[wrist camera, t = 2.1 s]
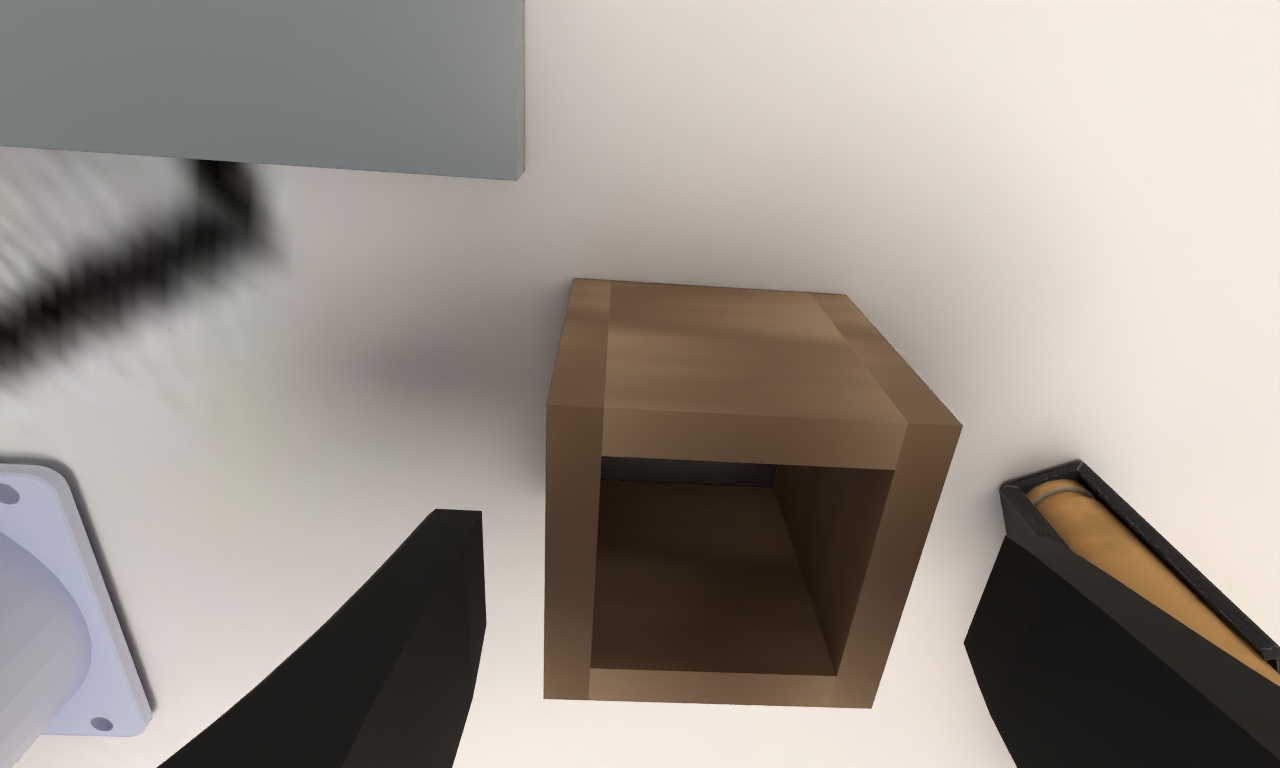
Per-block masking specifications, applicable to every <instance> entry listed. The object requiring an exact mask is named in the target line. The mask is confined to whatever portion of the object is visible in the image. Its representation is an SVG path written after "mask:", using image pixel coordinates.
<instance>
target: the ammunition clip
mask: <svg viewBox="0 0 1280 768" xmlns="http://www.w3.org/2000/svg"><path fill="white" fill-rule="evenodd" d="M999 492H1000V498H1001V504H1002V510H1003V516H1004V521H1005V527H1006V533H1007V536H1029V537H1048V538H1050V539H1052V540H1054V541H1056V542H1057V543H1059V544H1061V545H1063V546H1064V547H1066V548H1068V549H1069V550H1071V551H1073V552H1074V553H1076V554H1078V555H1079V556H1081V557H1083V558H1084V559H1086V560H1087V561H1089V562H1090V563H1092V564H1094V565H1095V566H1097V567H1098V568H1100V569H1101V570H1103V571H1104V572H1106V573H1107V574H1109V575H1111V576H1112V577H1114V578H1115V579H1117V580H1118V581H1120V582H1121V583H1123V584H1124V585H1126V586H1127V587H1129V588H1130V589H1132V590H1133V591H1135V592H1136V593H1138V594H1139V595H1141V596H1142V597H1144V598H1145V599H1147V600H1148V601H1150V602H1151V603H1153V604H1154V605H1156V606H1157V607H1159V608H1160V609H1162V610H1163V611H1165V612H1166V613H1168V614H1169V615H1171V616H1172V617H1174V618H1175V619H1177V620H1178V621H1180V622H1181V623H1183V624H1184V625H1186V626H1187V627H1189V628H1190V629H1192V630H1193V631H1195V632H1196V633H1198V634H1199V635H1201V636H1202V637H1204V638H1205V639H1207V640H1208V641H1210V642H1212V643H1213V644H1215V645H1216V646H1218V647H1219V648H1221V649H1222V650H1224V651H1225V652H1227V653H1228V654H1230V655H1231V656H1233V657H1235V658H1236V659H1238V660H1239V661H1241V662H1242V663H1244V664H1245V665H1247V666H1248V667H1250V668H1252V669H1253V670H1255V671H1256V672H1258V673H1259V674H1261V675H1263V676H1264V677H1266V678H1267V679H1269V680H1270V681H1272V682H1274V683H1275V684H1277V685H1278V686H1280V647H1279V646H1278V645H1277V644H1276V643H1275V642H1274V641H1273V640H1272V639H1271V638H1270V637H1269V636H1268V635H1267V634H1266V633H1265V632H1264V631H1262V630H1261V629H1260V628H1259V627H1258V626H1257V625H1256V624H1255V623H1254V622H1253V621H1252V620H1251V619H1250V618H1249V617H1248V616H1247V615H1245V614H1244V613H1243V612H1242V611H1241V610H1240V609H1239V608H1238V607H1237V606H1236V605H1235V604H1234V603H1233V602H1232V601H1231V600H1230V599H1228V598H1227V597H1226V596H1225V595H1224V594H1223V593H1222V592H1221V591H1220V590H1219V589H1218V588H1217V587H1216V586H1215V585H1214V584H1213V583H1212V582H1210V581H1209V580H1208V579H1207V578H1206V577H1205V576H1204V575H1203V574H1202V573H1201V572H1200V571H1199V570H1198V569H1197V568H1196V567H1195V566H1193V565H1192V564H1191V563H1190V562H1189V561H1188V560H1187V559H1186V558H1185V557H1184V556H1183V555H1182V554H1181V553H1180V552H1179V551H1178V550H1177V549H1175V548H1174V547H1173V546H1172V545H1171V544H1170V543H1169V542H1168V541H1167V540H1166V539H1165V538H1164V537H1163V536H1162V535H1161V534H1160V533H1158V532H1157V531H1156V530H1155V529H1154V528H1153V527H1152V526H1151V525H1150V524H1149V523H1148V522H1147V521H1146V520H1145V519H1144V518H1143V517H1141V516H1140V515H1139V514H1138V513H1137V512H1136V511H1135V510H1134V509H1133V508H1132V507H1131V506H1130V505H1129V504H1128V503H1127V502H1126V501H1125V500H1123V499H1122V498H1121V497H1120V496H1119V495H1118V494H1117V493H1116V492H1115V491H1114V490H1113V489H1112V488H1111V487H1110V486H1109V485H1108V484H1106V483H1105V482H1104V481H1103V480H1102V479H1101V478H1100V477H1099V476H1098V475H1097V474H1096V473H1095V472H1094V471H1093V470H1092V469H1091V468H1089V467H1088V466H1087V465H1086V464H1085V463H1084V462H1080V463H1077V464H1073V465H1070V466H1067V467H1064V468H1060V469H1057V470H1054V471H1050V472H1047V473H1044V474H1041V475H1037V476H1034V477H1031V478H1027V479H1024V480H1021V481H1018V482H1014V483H1011V484H1008V485H1005V486H1004V487H1003V488H1002V489H1001V490H999Z"/></svg>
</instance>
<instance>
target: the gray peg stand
mask: <svg viewBox="0 0 1280 768" xmlns="http://www.w3.org/2000/svg"><path fill="white" fill-rule="evenodd" d="M0 146H11V147H26V148H40V149H55V150H70V151H85V152H99V153H114V154H129V155H144V156H159V157H173V158H188V159H203V160H218V161H233V162H247V163H262V164H277V165H292V166H306V167H321V168H336V169H351V170H366V171H380V172H395V173H410V174H425V175H439V176H454V177H469V178H484V179H499V180H513V181H517V180H518V178H519V177H520V176H521V175H522V173H523V172H524V171H525V114H524V0H0Z"/></svg>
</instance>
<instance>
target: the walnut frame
mask: <svg viewBox="0 0 1280 768" xmlns="http://www.w3.org/2000/svg"><path fill="white" fill-rule="evenodd" d="M962 427H963V425H962V424H961V423H960V422H959V421H958V420H957V419H956V418H955V416H954V415H953V414H952V413H951V412H950V411H949V410H948V409H947V408H946V406H945V405H944V404H943V403H942V402H941V401H940V400H939V399H938V397H937V396H936V395H935V394H934V393H933V392H932V391H931V390H930V388H929V387H928V386H927V385H926V384H925V383H924V382H923V381H922V380H921V378H920V377H919V376H918V375H917V374H916V373H915V372H914V371H913V369H912V368H911V367H910V366H909V365H908V364H907V363H906V362H905V360H904V359H903V358H902V357H901V356H900V355H899V354H898V353H897V352H896V350H895V349H894V348H893V347H892V346H891V345H890V344H889V343H888V341H887V340H886V339H885V338H884V337H883V336H882V335H881V334H880V332H879V331H878V330H877V329H876V328H875V327H874V326H873V325H872V324H871V322H870V321H869V320H868V319H867V318H866V317H865V316H864V315H863V313H862V312H861V311H860V310H859V309H858V308H857V307H856V306H855V304H854V303H853V302H852V301H851V300H850V299H849V298H848V297H847V295H838V294H821V293H805V292H788V291H772V290H755V289H739V288H722V287H706V286H689V285H673V284H656V283H640V282H623V281H607V280H590V279H573V284H572V288H571V293H570V298H569V302H568V307H567V312H566V316H565V321H564V326H563V330H562V335H561V340H560V344H559V349H558V354H557V358H556V363H555V368H554V372H553V377H552V382H551V386H550V391H549V396H548V400H547V415H546V512H545V610H544V699H564V700H598V701H632V702H666V703H700V704H734V705H768V706H802V707H835V708H869V709H871V708H872V705H873V702H874V699H875V696H876V693H877V690H878V686H879V683H880V680H881V677H882V674H883V671H884V668H885V665H886V662H887V659H888V656H889V652H890V649H891V646H892V643H893V640H894V637H895V634H896V631H897V628H898V625H899V622H900V618H901V615H902V612H903V609H904V606H905V603H906V600H907V597H908V594H909V591H910V588H911V584H912V581H913V578H914V575H915V572H916V569H917V566H918V563H919V560H920V557H921V554H922V550H923V547H924V544H925V541H926V538H927V535H928V532H929V529H930V526H931V523H932V520H933V516H934V513H935V510H936V507H937V504H938V501H939V498H940V495H941V492H942V489H943V486H944V482H945V479H946V476H947V473H948V470H949V467H950V464H951V461H952V458H953V455H954V452H955V448H956V445H957V442H958V439H959V436H960V433H961V430H962ZM602 456H613V457H634V458H655V459H676V460H697V461H718V462H739V463H760V464H777V470H776V475H775V480H774V486H773V488H769V487H747V486H725V485H704V484H682V483H660V482H638V481H616V480H600V478H601V459H602Z"/></svg>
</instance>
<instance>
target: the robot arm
mask: <svg viewBox="0 0 1280 768" xmlns="http://www.w3.org/2000/svg"><path fill="white" fill-rule="evenodd" d="M12 487H13V488H15V489H16V490H15V489H13V488H12ZM485 629H486V603H485V579H484V555H483V531H482V511H471V510H449V509H435V510H434V511H433V512H431V513H430V514H429V515H428V516H427V517H426V518H425V519H424V520H423V521H422V522H421V523H420V525H419V526H418V527H417V528H416V529H415V530H414V531H413V532H412V533H411V535H410V536H409V537H408V538H407V539H406V540H405V541H404V542H403V543H402V544H401V545H400V547H399V548H398V549H397V550H396V551H395V552H394V553H393V554H392V555H391V556H390V557H389V558H388V559H387V561H386V562H385V563H384V564H383V565H382V566H381V567H380V568H379V569H378V570H377V571H376V572H375V573H374V574H373V575H372V576H371V577H370V578H369V580H368V581H367V582H366V583H365V584H364V585H363V586H362V587H361V588H360V589H359V590H358V591H357V592H356V593H355V594H354V595H353V596H352V597H351V598H350V599H349V600H348V601H347V602H346V603H345V604H344V605H343V606H342V607H341V608H340V609H339V610H338V611H337V612H336V613H335V614H334V615H333V616H332V617H331V618H330V619H329V620H328V621H327V622H326V623H325V624H324V625H323V626H321V627H320V628H319V629H318V630H317V631H316V632H315V633H314V634H313V635H312V636H311V637H310V638H309V639H308V640H307V641H305V642H304V643H303V644H302V645H301V646H300V647H299V648H298V649H297V650H296V651H294V652H293V653H292V654H291V655H290V656H289V657H288V658H287V659H286V660H285V661H284V662H282V663H281V664H280V665H279V666H278V667H277V668H276V669H275V670H274V671H273V672H272V673H270V674H269V675H268V676H267V677H266V678H265V679H264V680H263V681H262V682H261V683H259V684H258V685H257V686H256V687H255V688H254V689H253V690H251V691H250V692H249V693H248V694H247V695H246V696H244V697H243V698H242V699H241V700H240V701H239V702H237V703H236V704H235V705H234V706H233V707H231V708H230V709H229V710H228V711H227V712H226V713H224V714H223V715H222V716H221V717H220V718H218V719H217V720H216V721H215V722H213V723H212V724H211V725H210V726H209V727H207V728H206V729H205V730H204V731H202V732H201V733H200V734H199V735H197V736H196V737H195V738H194V739H192V740H191V741H190V742H189V743H187V744H186V745H185V746H184V747H182V748H181V749H180V750H179V751H177V752H176V753H175V754H174V755H172V756H171V757H170V758H169V759H167V760H166V761H165V762H163V763H162V764H161V765H159V766H158V767H157V768H452V766H453V763H454V760H455V756H456V753H457V749H458V746H459V743H460V739H461V736H462V733H463V729H464V726H465V723H466V719H467V716H468V712H469V709H470V705H471V702H472V699H473V694H474V689H475V683H476V678H477V673H478V668H479V663H480V657H481V651H482V646H483V640H484V635H485ZM964 645H965V648H966V651H967V654H968V657H969V660H970V662H971V665H972V668H973V671H974V674H975V677H976V679H977V682H978V685H979V687H980V690H981V692H982V695H983V697H984V700H985V702H986V705H987V708H988V710H989V713H990V715H991V717H992V719H993V721H994V723H995V725H996V727H997V729H998V731H999V733H1000V735H1001V737H1002V739H1003V741H1004V743H1005V745H1006V747H1007V749H1008V751H1009V752H1010V754H1011V756H1012V758H1013V760H1014V762H1015V764H1016V766H1017V768H1280V686H1278V685H1277V684H1275V683H1274V682H1272V681H1270V680H1269V679H1267V678H1266V677H1264V676H1263V675H1261V674H1259V673H1258V672H1256V671H1255V670H1253V669H1252V668H1250V667H1248V666H1247V665H1245V664H1244V663H1242V662H1241V661H1239V660H1238V659H1236V658H1235V657H1233V656H1231V655H1230V654H1228V653H1227V652H1225V651H1224V650H1222V649H1221V648H1219V647H1218V646H1216V645H1215V644H1213V643H1212V642H1210V641H1208V640H1207V639H1205V638H1204V637H1202V636H1201V635H1199V634H1198V633H1196V632H1195V631H1193V630H1192V629H1190V628H1189V627H1187V626H1186V625H1184V624H1183V623H1181V622H1180V621H1178V620H1177V619H1175V618H1174V617H1172V616H1171V615H1169V614H1168V613H1166V612H1165V611H1163V610H1162V609H1160V608H1159V607H1157V606H1156V605H1154V604H1153V603H1151V602H1150V601H1148V600H1147V599H1145V598H1144V597H1142V596H1141V595H1139V594H1138V593H1136V592H1135V591H1133V590H1132V589H1130V588H1129V587H1127V586H1126V585H1124V584H1123V583H1121V582H1120V581H1118V580H1117V579H1115V578H1114V577H1112V576H1111V575H1109V574H1107V573H1106V572H1104V571H1103V570H1101V569H1100V568H1098V567H1097V566H1095V565H1094V564H1092V563H1090V562H1089V561H1087V560H1086V559H1084V558H1083V557H1081V556H1079V555H1078V554H1076V553H1074V552H1073V551H1071V550H1069V549H1068V548H1066V547H1064V546H1063V545H1061V544H1059V543H1057V542H1056V541H1054V540H1052V539H1050V538H1048V537H1029V536H1007V535H1005V538H1004V540H1003V543H1002V546H1001V548H1000V551H999V553H998V556H997V558H996V561H995V564H994V566H993V569H992V571H991V574H990V576H989V579H988V582H987V584H986V587H985V589H984V592H983V594H982V597H981V600H980V602H979V605H978V607H977V610H976V612H975V615H974V617H973V620H972V623H971V625H970V628H969V630H968V633H967V635H966V638H965V641H964ZM151 719H152V712H151V709H150V706H149V704H148V701H147V698H146V695H145V693H144V690H143V687H142V684H141V682H140V679H139V676H138V674H137V671H136V668H135V665H134V663H133V660H132V657H131V654H130V652H129V649H128V646H127V643H126V641H125V638H124V635H123V633H122V630H121V627H120V624H119V622H118V619H117V616H116V613H115V611H114V608H113V605H112V602H111V600H110V597H109V594H108V591H107V589H106V586H105V583H104V581H103V578H102V575H101V572H100V570H99V567H98V564H97V561H96V559H95V556H94V553H93V550H92V548H91V545H90V542H89V539H88V537H87V534H86V531H85V529H84V526H83V523H82V520H81V518H80V515H79V512H78V509H77V507H76V504H75V501H74V498H73V496H72V493H71V490H70V487H69V485H68V483H67V482H66V480H65V478H64V477H63V476H61V475H60V474H59V473H58V472H56V471H54V470H52V469H50V468H48V467H44V466H39V465H24V464H2V463H0V768H12V767H13V766H14V765H15V764H16V763H17V761H18V760H19V759H20V758H21V757H22V755H23V754H24V753H25V752H26V751H27V750H28V748H29V747H30V746H31V745H32V744H33V742H34V741H35V740H36V739H37V738H38V737H39V735H40V734H41V735H79V736H118V737H130V736H136V735H139V734H141V733H142V732H143V731H144V729H145V728H146V727H147V725H148V724H149V722H150V721H151Z"/></svg>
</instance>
